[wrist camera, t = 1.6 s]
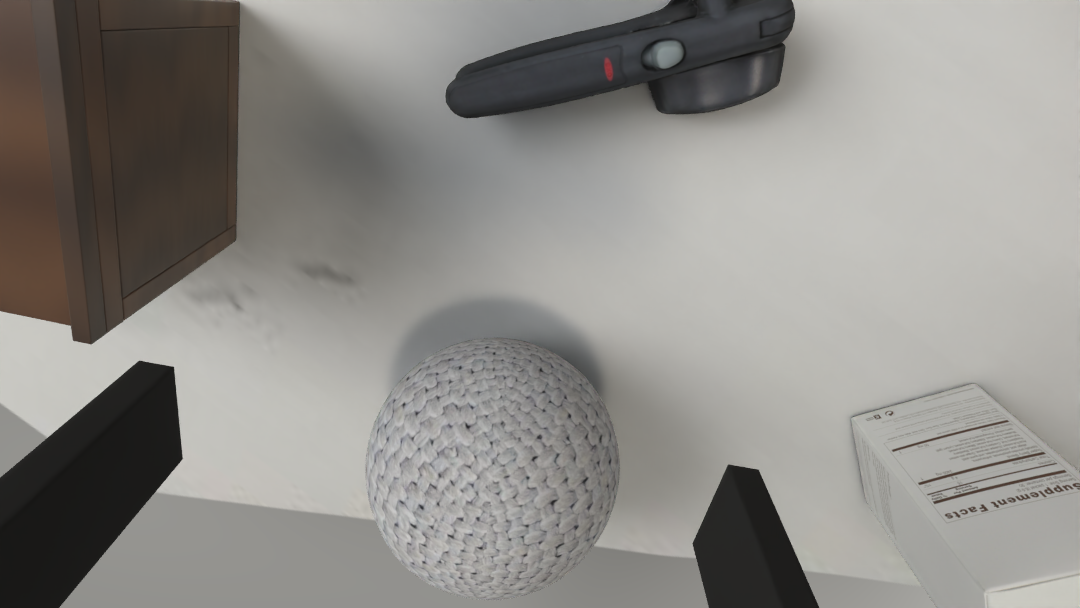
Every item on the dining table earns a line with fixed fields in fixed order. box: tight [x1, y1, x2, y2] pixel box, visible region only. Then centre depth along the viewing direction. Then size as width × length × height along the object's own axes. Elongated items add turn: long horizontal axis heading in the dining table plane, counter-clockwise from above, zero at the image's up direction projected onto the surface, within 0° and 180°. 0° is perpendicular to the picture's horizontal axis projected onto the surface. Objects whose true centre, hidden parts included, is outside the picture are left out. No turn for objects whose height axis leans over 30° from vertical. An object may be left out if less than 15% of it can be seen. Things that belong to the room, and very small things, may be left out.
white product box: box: [851, 384, 1080, 608], centre depth 37 cm, size 9×9×15 cm
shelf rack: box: [0, 0, 239, 344], centre depth 28 cm, size 14×12×13 cm
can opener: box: [446, 0, 795, 118], centre depth 30 cm, size 18×7×6 cm, turn 100°
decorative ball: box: [366, 338, 620, 600], centre depth 36 cm, size 15×15×15 cm
